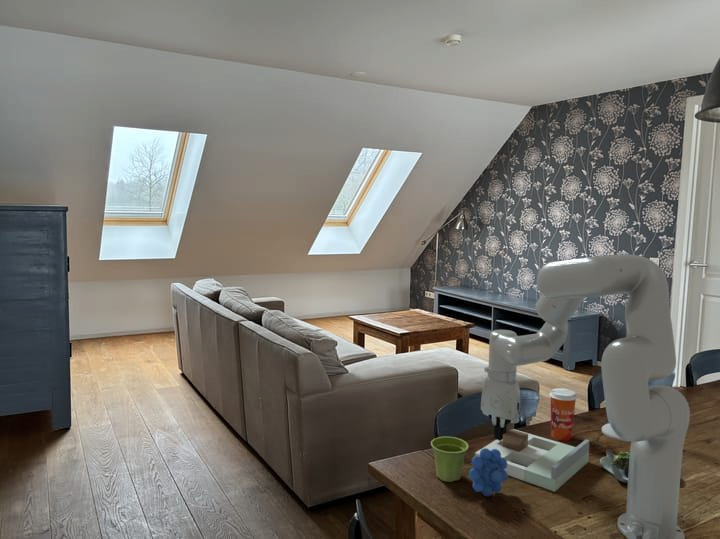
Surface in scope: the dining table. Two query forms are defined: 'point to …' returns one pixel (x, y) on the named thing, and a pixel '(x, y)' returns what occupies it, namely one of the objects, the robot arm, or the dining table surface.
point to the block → (515, 440)
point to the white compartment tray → (543, 461)
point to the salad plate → (617, 465)
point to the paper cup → (562, 413)
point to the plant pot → (449, 457)
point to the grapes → (488, 471)
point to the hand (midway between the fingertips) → (499, 438)
